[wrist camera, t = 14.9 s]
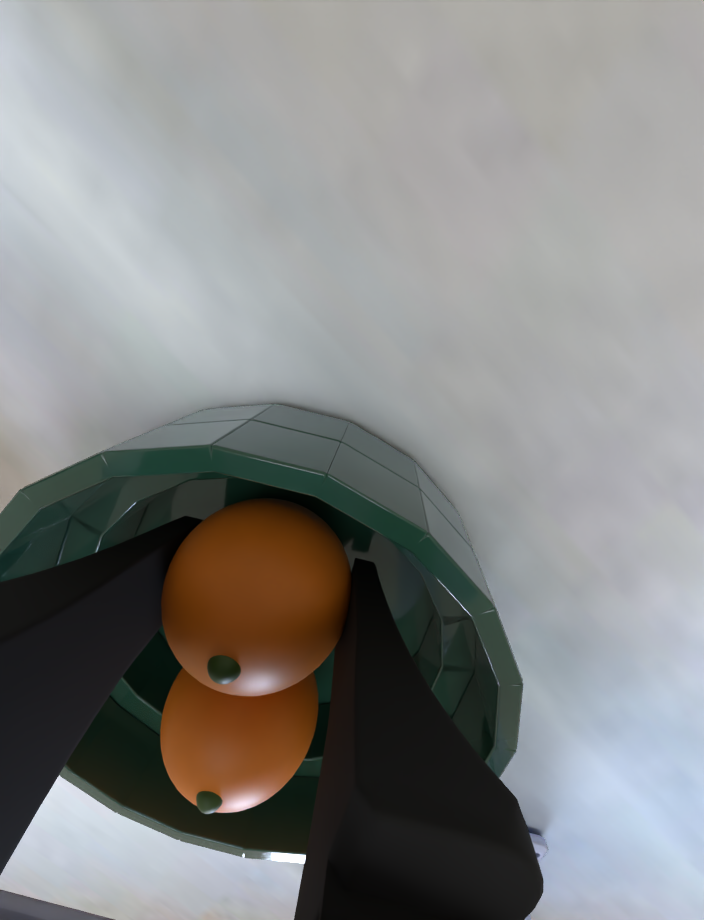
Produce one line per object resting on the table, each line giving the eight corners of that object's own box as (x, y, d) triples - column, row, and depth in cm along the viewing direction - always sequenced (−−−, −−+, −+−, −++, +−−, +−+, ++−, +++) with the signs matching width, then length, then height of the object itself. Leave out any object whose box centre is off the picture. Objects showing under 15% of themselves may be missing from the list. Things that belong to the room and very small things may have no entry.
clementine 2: (316, 701, 16) (282, 881, 10) (204, 672, 16) (115, 837, 10) (340, 614, 14) (312, 780, 9) (213, 582, 14) (110, 728, 9)
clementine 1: (342, 610, 13) (314, 780, 8) (212, 577, 13) (105, 727, 8) (374, 492, 12) (364, 619, 6) (223, 455, 12) (95, 551, 7)
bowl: (411, 745, 17) (420, 904, 12) (110, 669, 17) (5, 796, 12) (539, 462, 11) (645, 551, 7) (97, 354, 12) (-98, 369, 7)
